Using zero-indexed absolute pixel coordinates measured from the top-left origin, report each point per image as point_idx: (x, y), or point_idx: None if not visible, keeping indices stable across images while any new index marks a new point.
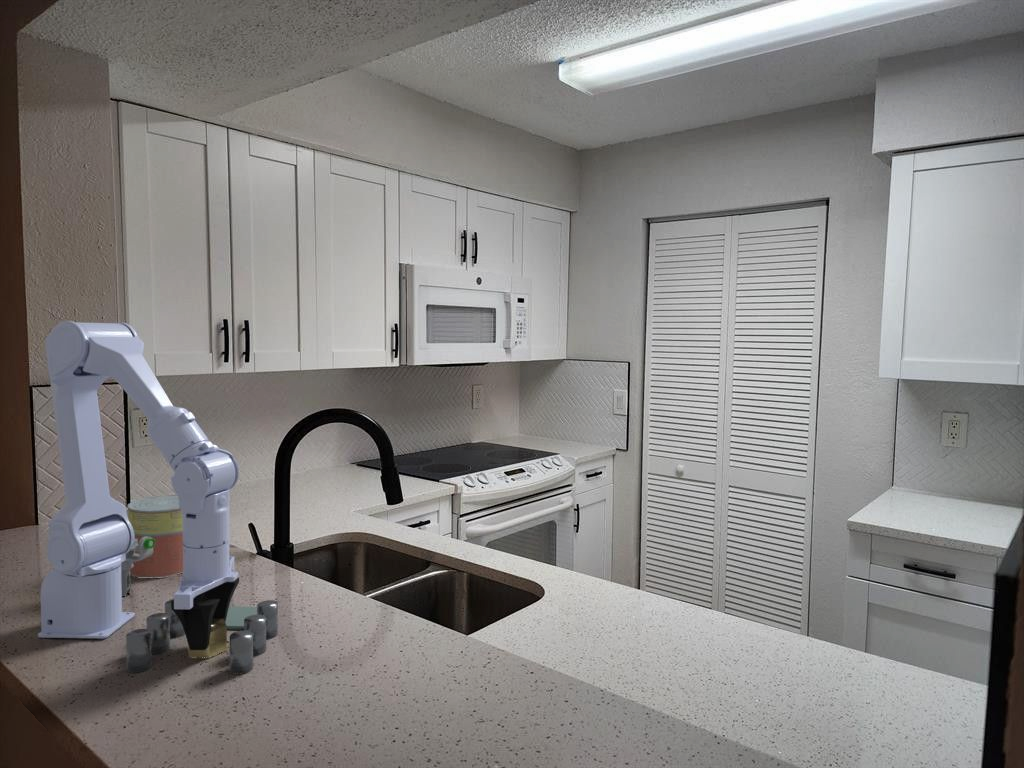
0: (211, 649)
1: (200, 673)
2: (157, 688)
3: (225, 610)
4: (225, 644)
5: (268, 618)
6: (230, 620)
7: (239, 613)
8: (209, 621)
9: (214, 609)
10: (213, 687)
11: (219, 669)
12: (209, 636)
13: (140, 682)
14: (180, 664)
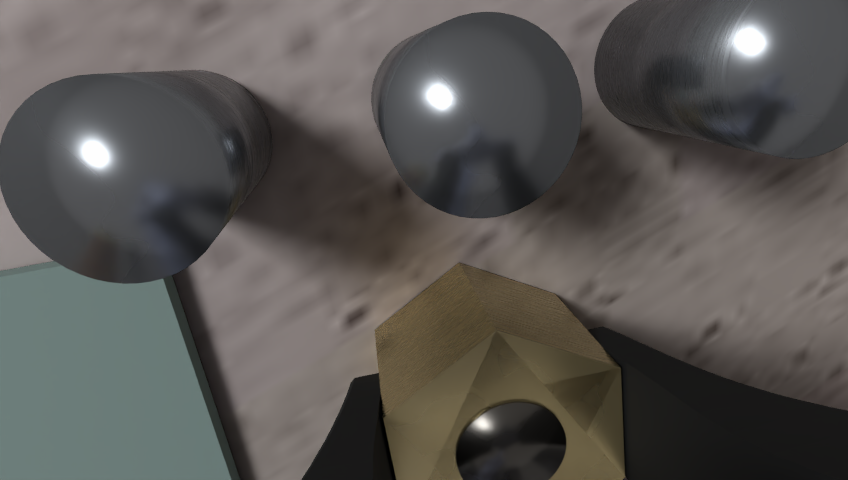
0: (562, 309)
1: (700, 247)
2: (822, 339)
3: (373, 449)
4: (476, 278)
5: (227, 116)
6: (134, 442)
7: (17, 452)
8: (755, 396)
9: (800, 440)
10: None
11: (659, 180)
12: (622, 351)
13: None
14: None
